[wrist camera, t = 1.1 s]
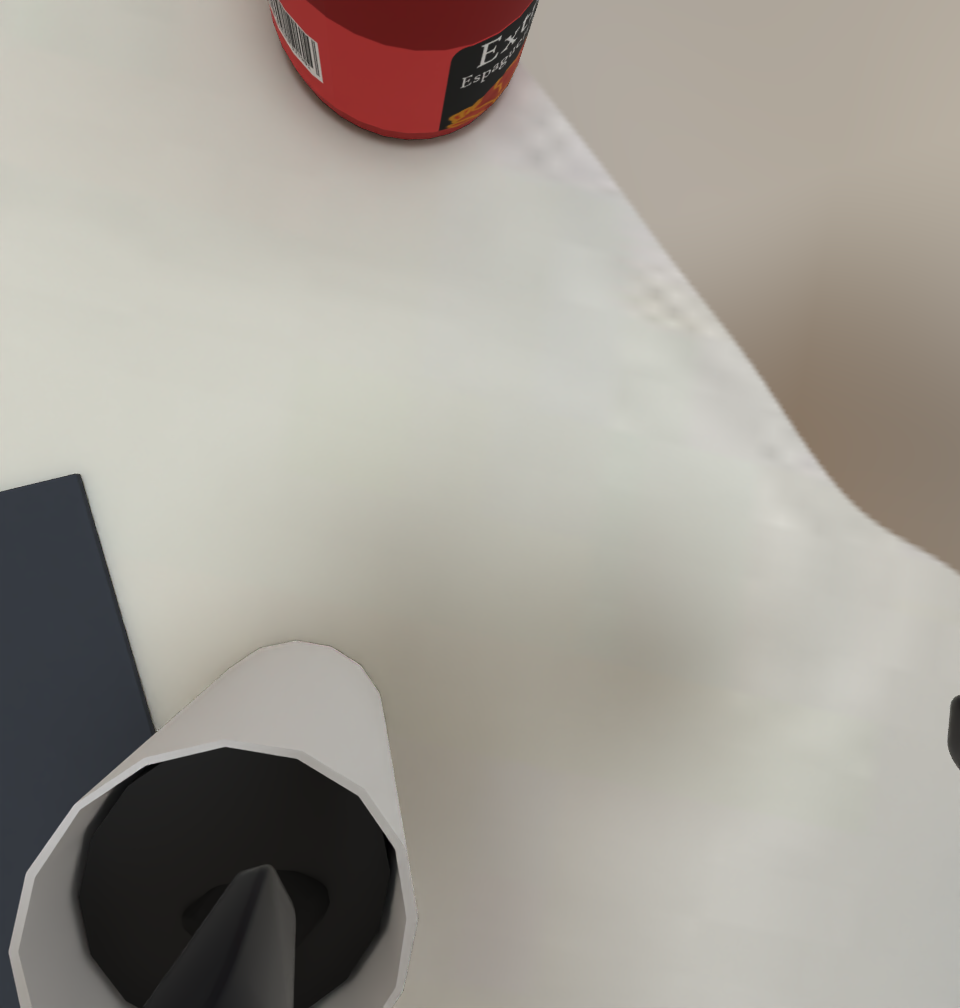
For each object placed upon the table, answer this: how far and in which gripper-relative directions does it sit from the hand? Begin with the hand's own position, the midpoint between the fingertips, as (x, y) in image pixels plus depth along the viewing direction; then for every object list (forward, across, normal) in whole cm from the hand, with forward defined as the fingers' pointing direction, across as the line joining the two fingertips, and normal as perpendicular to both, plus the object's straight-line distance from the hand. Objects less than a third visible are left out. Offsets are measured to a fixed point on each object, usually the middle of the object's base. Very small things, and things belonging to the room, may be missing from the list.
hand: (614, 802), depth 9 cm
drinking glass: (+11, +8, +6) cm, 15 cm away
